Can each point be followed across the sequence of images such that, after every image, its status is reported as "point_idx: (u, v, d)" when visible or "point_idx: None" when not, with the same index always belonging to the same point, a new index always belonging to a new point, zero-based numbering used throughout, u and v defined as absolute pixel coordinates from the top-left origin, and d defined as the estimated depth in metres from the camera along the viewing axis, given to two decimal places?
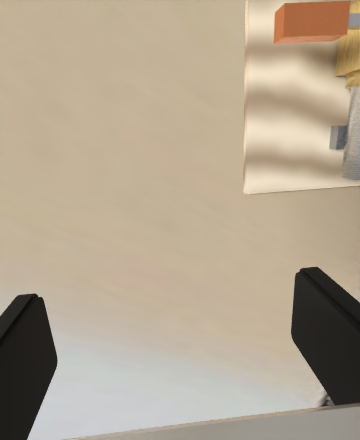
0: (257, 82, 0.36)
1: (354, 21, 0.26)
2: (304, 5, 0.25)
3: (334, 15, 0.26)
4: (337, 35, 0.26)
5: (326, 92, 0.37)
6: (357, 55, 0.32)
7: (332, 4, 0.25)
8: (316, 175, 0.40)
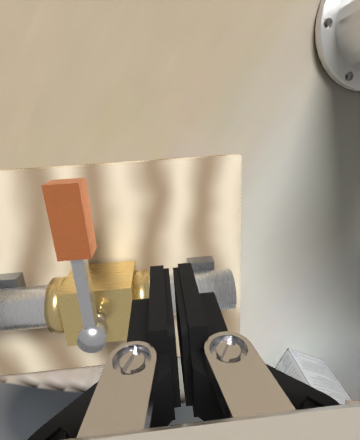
0: (56, 179, 0.30)
1: (76, 267, 0.23)
2: (79, 207, 0.21)
3: (74, 244, 0.22)
4: None
5: None
6: None
7: (85, 239, 0.22)
8: None
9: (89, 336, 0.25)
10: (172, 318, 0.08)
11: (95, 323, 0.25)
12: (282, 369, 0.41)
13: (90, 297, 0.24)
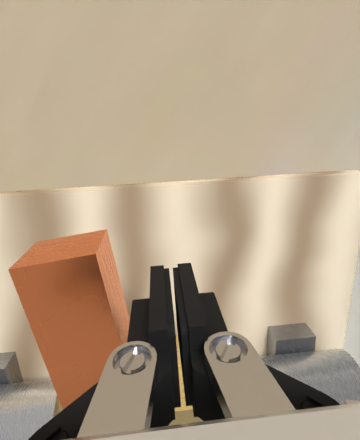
0: (72, 211, 0.18)
1: None
2: (102, 305, 0.09)
3: (98, 379, 0.10)
4: None
5: None
6: None
7: None
8: None
9: None
10: (172, 318, 0.08)
11: None
12: None
13: None
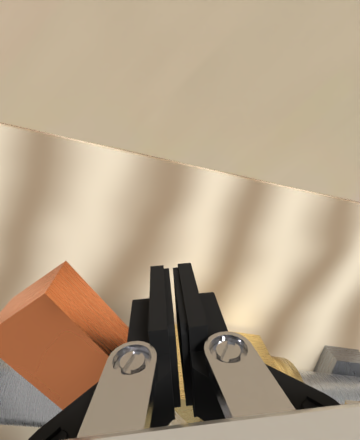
0: (196, 188, 0.18)
1: None
2: (79, 337, 0.09)
3: None
4: None
5: None
6: None
7: None
8: None
9: None
10: (172, 318, 0.08)
11: None
12: None
13: None
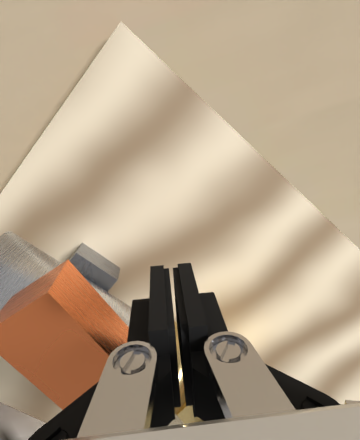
0: (284, 204, 0.19)
1: None
2: (80, 336, 0.09)
3: None
4: None
5: None
6: None
7: None
8: (45, 191, 0.17)
9: None
10: (172, 318, 0.08)
11: None
12: None
13: None
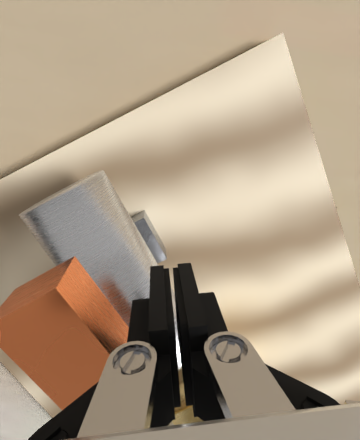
0: (330, 251, 0.20)
1: None
2: (84, 334, 0.09)
3: None
4: None
5: (206, 288, 0.20)
6: None
7: None
8: (137, 147, 0.17)
9: None
10: (172, 318, 0.08)
11: None
12: None
13: None
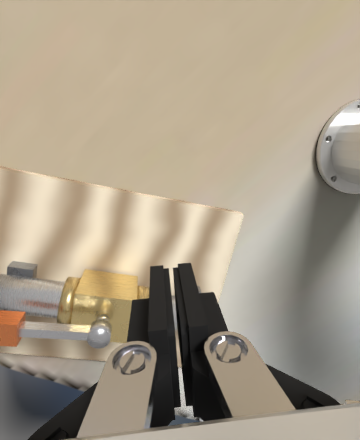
0: (93, 196, 0.36)
1: (28, 334, 0.29)
2: None
3: (2, 333, 0.29)
4: None
5: (71, 260, 0.38)
6: (91, 285, 0.34)
7: None
8: None
9: (92, 339, 0.30)
10: (172, 318, 0.08)
11: (86, 330, 0.31)
12: None
13: (59, 330, 0.30)
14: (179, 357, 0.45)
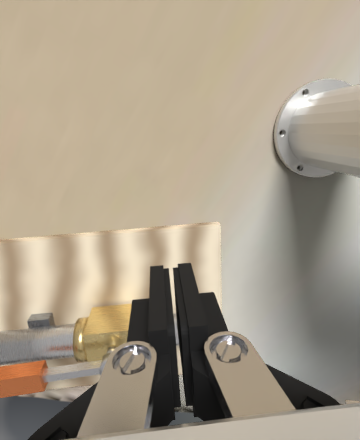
0: (80, 245, 0.40)
1: (50, 379, 0.35)
2: (2, 381, 0.34)
3: (29, 383, 0.34)
4: None
5: (79, 302, 0.42)
6: (97, 323, 0.39)
7: (25, 378, 0.34)
8: (4, 308, 0.42)
9: None
10: (172, 318, 0.08)
11: (98, 365, 0.35)
12: None
13: (74, 370, 0.35)
14: None
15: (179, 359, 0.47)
